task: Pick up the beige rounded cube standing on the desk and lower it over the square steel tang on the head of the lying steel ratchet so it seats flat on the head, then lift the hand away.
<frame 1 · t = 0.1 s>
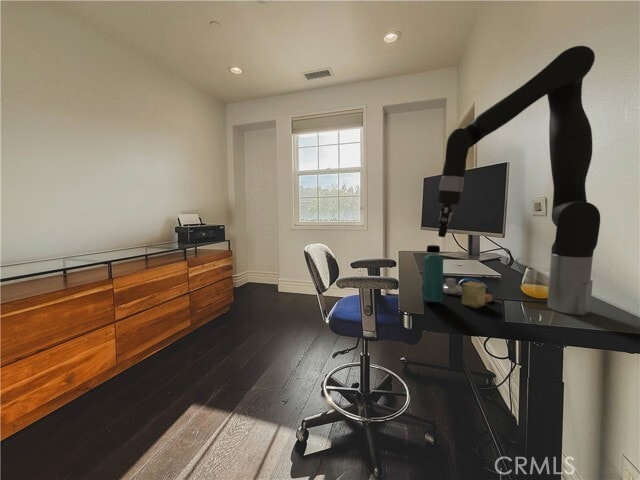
hand: (442, 235, 98), 22 cm above the table, tool pointing down, fingers open, 8 cm apart
beverage bottle: (432, 303, 93), on the table
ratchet: (450, 291, 103), on the table
beige rounded cube: (473, 304, 90), on the table
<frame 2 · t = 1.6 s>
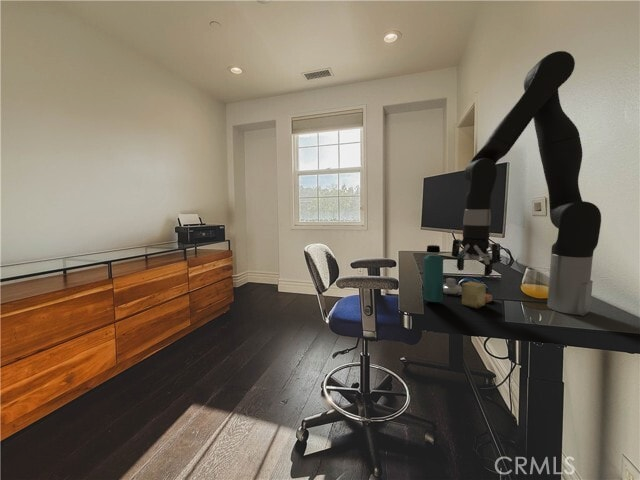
hand: (473, 272, 89), 11 cm above the table, tool pointing down, fingers open, 8 cm apart
nothing on the table moved.
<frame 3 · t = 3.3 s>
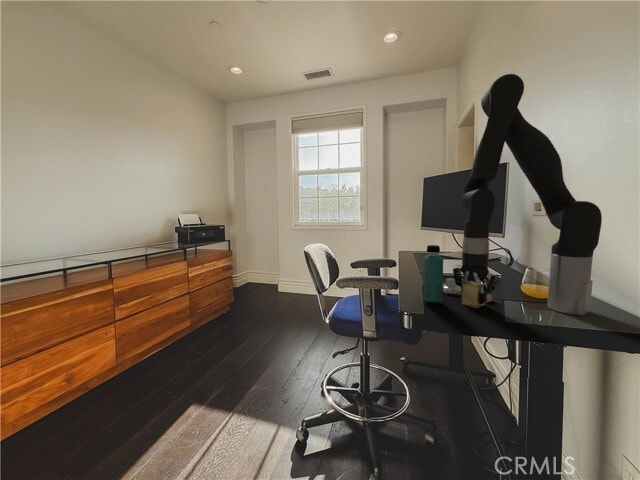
hand: (473, 301, 90), 1 cm above the table, tool pointing down, fingers closed on beige rounded cube, 5 cm apart
beige rounded cube: (473, 304, 90), on the table, touching gripper
everything else where it was.
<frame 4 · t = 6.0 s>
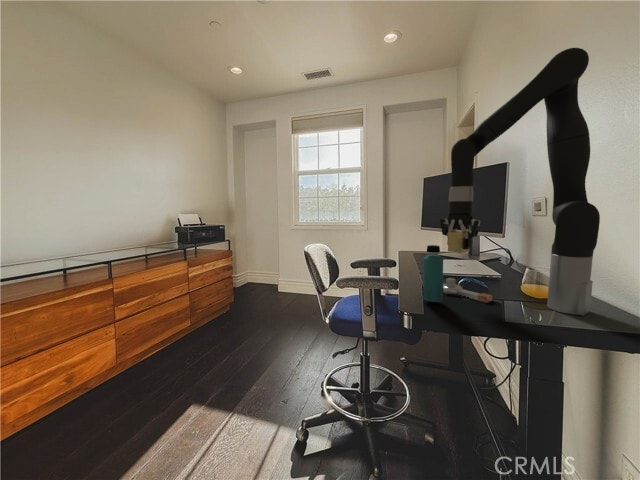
hand: (458, 248, 96), 18 cm above the table, tool pointing down, fingers closed on beige rounded cube, 5 cm apart
beige rounded cube: (458, 251, 96), point 17 cm above the table, touching gripper
everything else where it was.
when the fingers open (4 cm above the table, at t = 8.7 s): beige rounded cube stays where it is, resting on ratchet.
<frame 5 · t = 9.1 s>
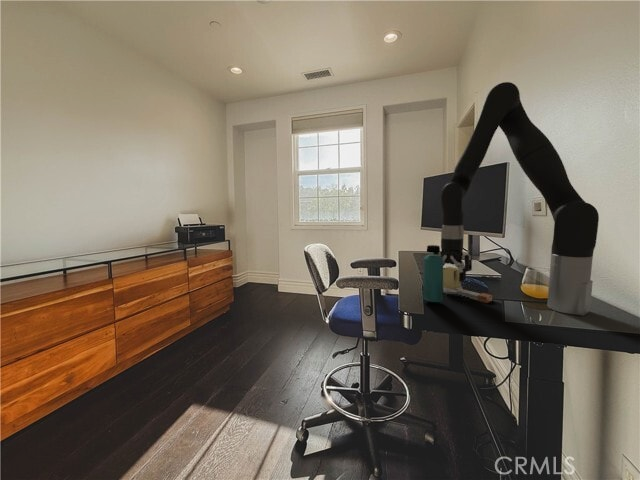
hand: (450, 279, 103), 5 cm above the table, tool pointing down, fingers open, 8 cm apart
beige rounded cube: (450, 286, 103), point 2 cm above the table, touching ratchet
everything else where it was.
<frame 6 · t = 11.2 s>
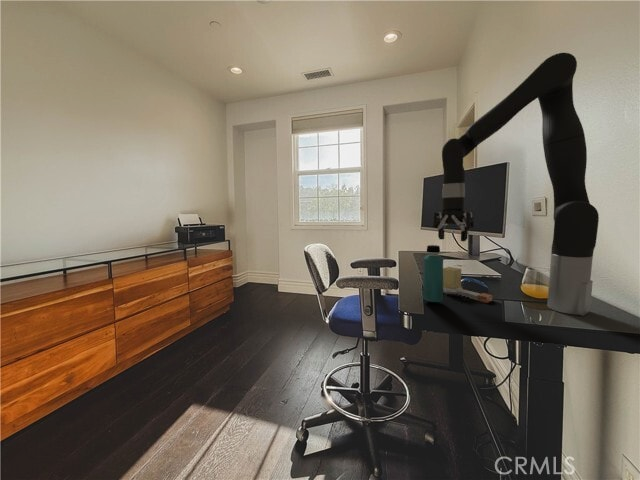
hand: (452, 240, 101), 20 cm above the table, tool pointing down, fingers open, 8 cm apart
nothing on the table moved.
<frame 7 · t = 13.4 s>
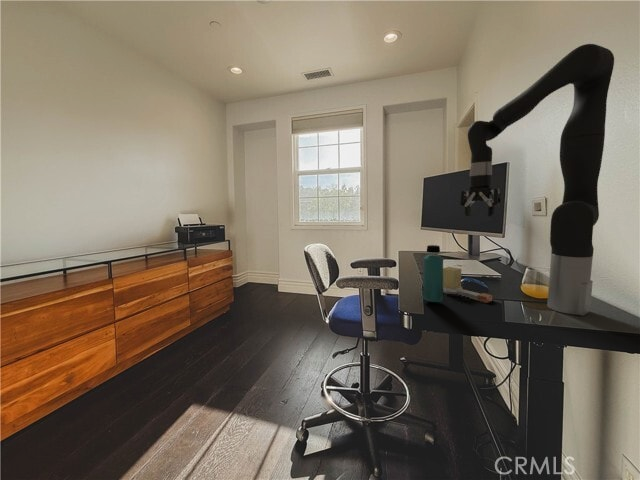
hand: (478, 216, 108), 28 cm above the table, tool pointing down, fingers open, 8 cm apart
nothing on the table moved.
at the end: beige rounded cube 0.1 cm off-centre on the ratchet, point 2.0 cm above the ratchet's base; beige rounded cube tilted 0°; the gripper is holding nothing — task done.
